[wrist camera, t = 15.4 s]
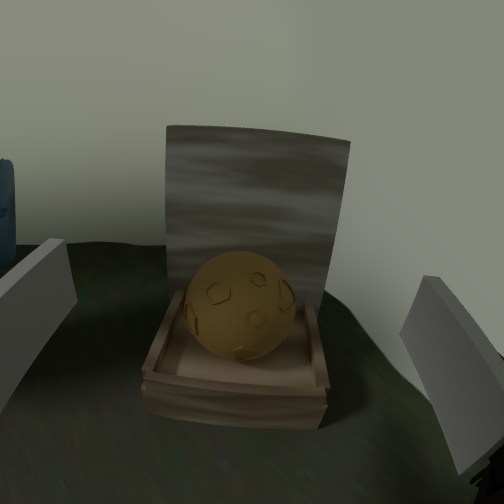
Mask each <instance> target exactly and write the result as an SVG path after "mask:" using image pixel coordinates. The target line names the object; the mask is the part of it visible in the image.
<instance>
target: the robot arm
mask: <svg viewBox="0 0 504 504" xmlns="http://www.w3.org/2000/svg"><path fill="white" fill-rule="evenodd" d="M13 169H14V168H13V164H12V162H11V161H10V160H4V159H1V160H0V270H1V269H5V268H7V267H9V266H10V265H11V264H12V262H13V260H14V257H15V252H16V217H15V186H14V185H15V183H14V170H13ZM77 302H78V301H77V296H76V292H75V288H74V284H73V279H72V274H71V270H70V265H69V259H68V254H67V248H66V242H65V240H63V239H54V238H50V239H48V240H47V241H46V242H44V243H43V244H42V245H41V246H39V247H38V248H37V249H36V250H34V251H33V252H32V253H31V254H29V255H28V256H27V257H26V258H25V259H23V260H22V261H21V262H20V263H19V264H17V265H16V266H15V267H14V268H13V269H12V270H10V271H9V272H8V273H7V274H6V275H5V276H4V277H2V278H1V279H0V414H1V412H2V410H3V409H4V407H5V405H6V404H7V402H8V400H9V399H10V397H11V395H12V394H13V392H14V390H15V389H16V387H17V386H18V384H19V383H20V381H21V379H22V378H23V376H24V375H25V373H26V372H27V370H28V369H29V367H30V366H31V364H32V363H33V361H34V360H35V359H36V357H37V356H38V354H39V353H40V351H41V350H42V348H43V347H44V346H45V344H46V343H47V341H48V340H49V339H50V337H51V336H52V335H53V333H54V332H55V330H56V329H57V328H58V326H59V325H60V324H61V322H62V321H63V320H64V318H65V317H66V316H67V315H68V313H69V312H70V311H71V309H72V308H73V307H74V306H75V304H76V303H77ZM400 336H401V338H402V340H403V342H404V344H405V346H406V348H407V350H408V352H409V355H410V357H411V359H412V361H413V363H414V365H415V367H416V369H417V372H418V374H419V376H420V378H421V381H422V383H423V385H424V387H425V390H426V392H427V394H428V396H429V399H430V401H431V404H432V406H433V408H434V411H435V413H436V416H437V418H438V421H439V423H440V426H441V428H442V431H443V433H444V436H445V439H446V441H447V444H448V447H449V450H450V452H451V455H452V458H453V461H454V464H455V467H456V470H457V473H458V475H461V474H464V473H466V472H469V471H471V470H474V469H476V468H477V467H479V466H480V465H481V464H482V463H483V462H485V461H486V460H487V459H488V458H489V461H490V464H489V465H488V466H487V467H486V468H484V469H483V470H482V471H481V472H479V473H478V474H477V475H475V476H474V477H473V478H472V479H471V481H470V483H469V484H471V485H472V484H473V483H474V482H476V481H477V480H478V479H480V478H481V477H482V480H480V481H479V482H478V483H477V484H476V485H475V486H476V487H479V490H478V493H477V496H476V499H475V502H474V504H504V358H503V356H501V355H500V354H499V353H498V352H497V351H496V349H495V348H494V347H493V345H492V344H491V342H490V341H489V340H488V338H487V337H486V335H485V334H484V332H483V331H482V330H481V328H480V327H479V326H478V324H477V323H476V322H475V320H474V319H473V318H472V317H471V315H470V314H469V313H468V312H467V310H466V309H465V308H464V306H463V305H462V304H461V303H460V302H459V300H458V299H457V298H456V296H455V295H454V294H453V293H452V291H451V290H450V289H449V288H448V287H447V286H446V284H445V283H444V282H443V281H442V280H441V279H440V277H434V276H423V279H422V281H421V284H420V287H419V289H418V292H417V295H416V297H415V299H414V302H413V304H412V307H411V309H410V312H409V314H408V316H407V318H406V321H405V323H404V325H403V327H402V329H401V331H400Z"/></svg>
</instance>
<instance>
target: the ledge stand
mask: <svg viewBox="0 0 504 504" xmlns="http://www.w3.org/2000/svg"><path fill="white" fill-rule="evenodd" d="M349 150H350V141H347V140H342V139H336V138H330V137H323V136H317V135H309V134H301V133H293V132H285V131H274V130H265V129H253V128H239V127H222V126H195V125H170V126H167V129H166V160H165V161H166V163H165V216H166V217H165V218H166V251H167V272H168V288H169V302H170V305H169V308H168V310H167V312H166V314H165V316H164V319H163V321H162V323H161V325H160V327H159V330H158V332H157V334H156V337H155V339H154V341H153V343H152V346H151V348H150V350H149V353H148V355H147V357H146V360H145V362H144V364H143V367H142V369H141V370H142V374H143V378H144V382H143V384H142V387H141V391H142V394H143V398H144V402H145V405H146V408H147V412H148V414H152V415H157V416H162V417H168V418H173V419H179V420H185V421H191V422H198V423H205V424H213V425H222V426H231V427H243V428H256V429H276V430H317V428H318V426H319V424H320V422H321V420H322V418H323V416H324V413H325V411H326V409H327V407H328V406H327V400H326V397H327V395H328V392H329V390H330V383H329V377H328V372H327V367H326V362H325V357H324V352H323V347H322V343H321V338H320V333H319V329H318V324H317V317H318V313H319V309H320V305H321V301H322V296H323V292H324V288H325V283H326V279H327V274H328V270H329V265H330V260H331V255H332V250H333V245H334V240H335V235H336V230H337V225H338V219H339V214H340V208H341V202H342V196H343V190H344V184H345V178H346V171H347V164H348V158H349ZM236 251H245V252H251V253H255V254H258V255H261V256H263V257H265V258H267V259H269V260H270V261H272V262H273V263H275V264H276V265H277V266H278V267H279V268H280V269H281V270H282V271H283V272H284V274H285V275H286V277H287V278H288V280H289V282H290V284H291V287H292V289H293V291H294V293H295V297H296V305H295V306H296V314H295V318H294V319H293V323H292V326H293V329H292V331H291V333H290V335H289V336H288V338H287V339H286V341H285V342H284V341H282V342H281V343H280V344H279V345H278V346H277V347H276V348H275V349H273V350H272V351H271V352H269V353H267V354H265V355H263V356H261V357H258V358H255V359H251V360H244V361H239V360H230V359H226V358H222V357H219V356H217V355H215V354H213V353H212V352H210V351H209V350H207V349H206V348H205V347H204V346H202V345H201V344H200V343H199V341H198V340H197V339H196V338H195V336H194V335H193V334H192V333H191V332H190V330H189V329H188V327H187V325H186V322H185V320H184V303H185V299H186V294H187V290H188V287H189V284H190V282H191V280H192V278H193V277H194V275H195V274H196V273H197V271H198V270H199V269H200V268H201V267H202V266H203V265H204V264H205V263H207V262H208V261H209V260H211V259H213V258H215V257H217V256H219V255H221V254H224V253H228V252H236Z"/></svg>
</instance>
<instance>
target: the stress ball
mask: <svg viewBox="0 0 504 504" xmlns="http://www.w3.org/2000/svg"><path fill="white" fill-rule="evenodd" d="M295 305H296V297H295V293H294V291H293V289H292V287H291V284H290V282H289V280H288V278H287V277H286V275H285V274H284V272H283V271H282V270H281V269H280V268H279V267H278V266H277V265H276V264H275V263H273V262H272V261H270V260H269V259H267V258H265V257H263V256H261V255H258V254H255V253H251V252H245V251H236V252H228V253H224V254H221V255H219V256H217V257H215V258H213V259H211V260H209V261H208V262H207V263H205V264H204V265H203V266H202V267H201V268H200V269H199V270H198V271H197V273H196V274H195V275H194V277H193V278H192V280H191V282H190V284H189V287H188V290H187V294H186V299H185V303H184V320H185V322H186V325H187V327H188V329H189V330H190V332H191V333H192V334H193V335H194V336H195V338H196V339H197V340H198V341H199V343H200V344H201V345H202V346H204V347H205V348H206V349H207V350H209V351H210V352H212V353H213V354H215V355H217V356H219V357H222V358H226V359H230V360H239V361H244V360H251V359H255V358H258V357H261V356H263V355H265V354H267V353H269V352H271V351H272V350H273V349H275V348H276V347H277V346H278V345H279V344H280V343H281V342H282V341H284V342H285V341H286V339H287V338H288V336H289V335H290V333H291V331H292V329H293V326H292V323H293V319H294V318H295V314H296V306H295Z"/></svg>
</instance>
